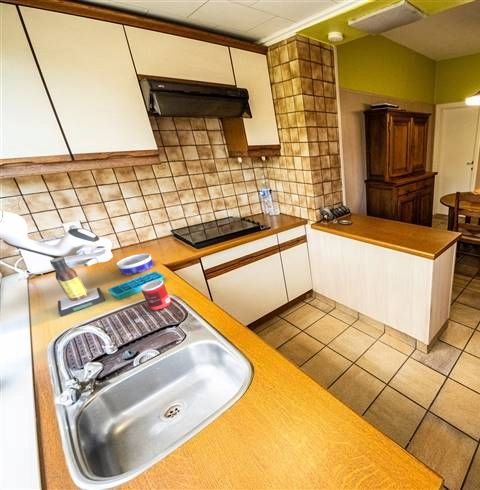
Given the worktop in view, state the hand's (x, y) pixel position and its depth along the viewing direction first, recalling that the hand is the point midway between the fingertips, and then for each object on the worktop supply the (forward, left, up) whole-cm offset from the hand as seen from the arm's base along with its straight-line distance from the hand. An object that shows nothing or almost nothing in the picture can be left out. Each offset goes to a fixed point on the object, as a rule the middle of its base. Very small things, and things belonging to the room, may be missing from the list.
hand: (73, 267), depth 120 cm
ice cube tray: (+17, -10, -16) cm, 26 cm away
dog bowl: (+21, +17, -16) cm, 32 cm away
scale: (-3, -5, -16) cm, 17 cm away
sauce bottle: (-3, -5, -13) cm, 14 cm away
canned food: (+20, -38, -16) cm, 46 cm away
